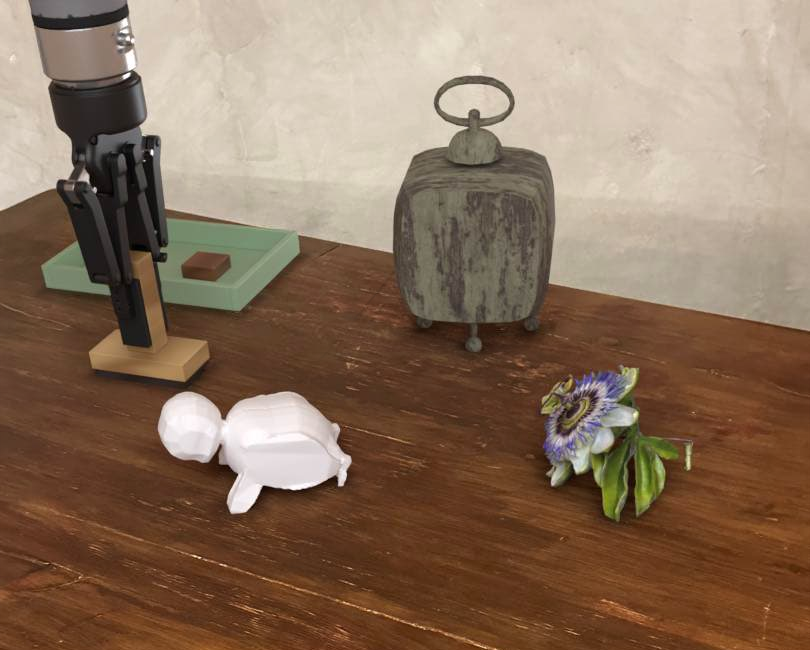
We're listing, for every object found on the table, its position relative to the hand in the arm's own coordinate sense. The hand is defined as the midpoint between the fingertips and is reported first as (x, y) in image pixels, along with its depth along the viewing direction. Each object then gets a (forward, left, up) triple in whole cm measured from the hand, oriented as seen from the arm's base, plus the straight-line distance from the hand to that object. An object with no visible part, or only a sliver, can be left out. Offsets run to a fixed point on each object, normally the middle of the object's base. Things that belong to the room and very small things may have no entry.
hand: (146, 336), depth 106 cm
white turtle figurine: (+18, -14, -4) cm, 23 cm away
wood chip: (-5, +21, -3) cm, 22 cm away
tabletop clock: (+28, +14, -4) cm, 32 cm away
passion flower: (+45, -6, -4) cm, 46 cm away
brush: (0, 0, -4) cm, 4 cm away
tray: (-9, +21, -4) cm, 23 cm away
